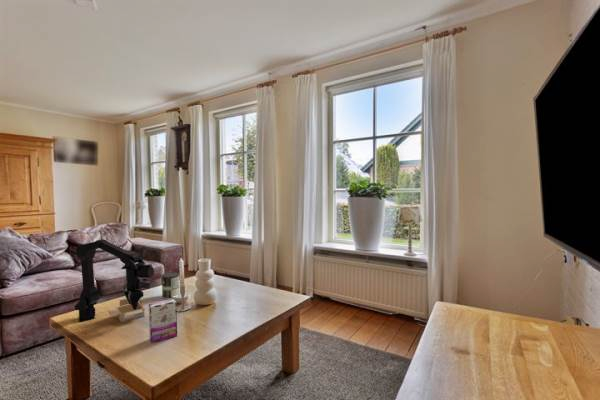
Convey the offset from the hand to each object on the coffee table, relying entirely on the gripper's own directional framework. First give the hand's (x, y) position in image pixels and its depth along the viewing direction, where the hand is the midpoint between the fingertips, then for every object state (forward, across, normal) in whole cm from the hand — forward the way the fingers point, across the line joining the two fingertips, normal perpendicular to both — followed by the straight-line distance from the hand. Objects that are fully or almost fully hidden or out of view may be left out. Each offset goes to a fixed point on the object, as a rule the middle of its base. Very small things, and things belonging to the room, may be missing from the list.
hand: (132, 306), depth 151 cm
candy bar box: (+7, -30, -6) cm, 32 cm away
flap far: (+2, +6, -6) cm, 8 cm away
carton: (+7, +4, +2) cm, 8 cm away
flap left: (+2, +11, 0) cm, 12 cm away
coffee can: (+7, +22, -26) cm, 35 cm away
